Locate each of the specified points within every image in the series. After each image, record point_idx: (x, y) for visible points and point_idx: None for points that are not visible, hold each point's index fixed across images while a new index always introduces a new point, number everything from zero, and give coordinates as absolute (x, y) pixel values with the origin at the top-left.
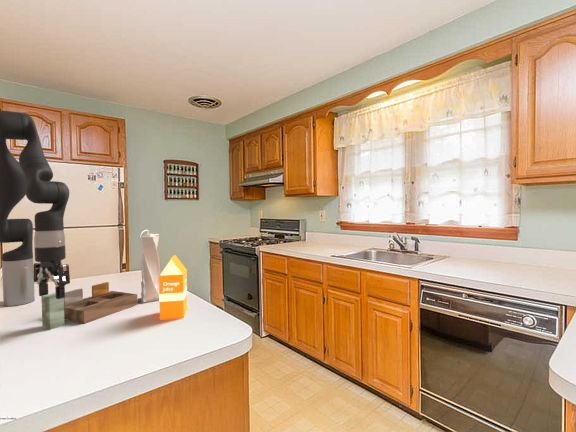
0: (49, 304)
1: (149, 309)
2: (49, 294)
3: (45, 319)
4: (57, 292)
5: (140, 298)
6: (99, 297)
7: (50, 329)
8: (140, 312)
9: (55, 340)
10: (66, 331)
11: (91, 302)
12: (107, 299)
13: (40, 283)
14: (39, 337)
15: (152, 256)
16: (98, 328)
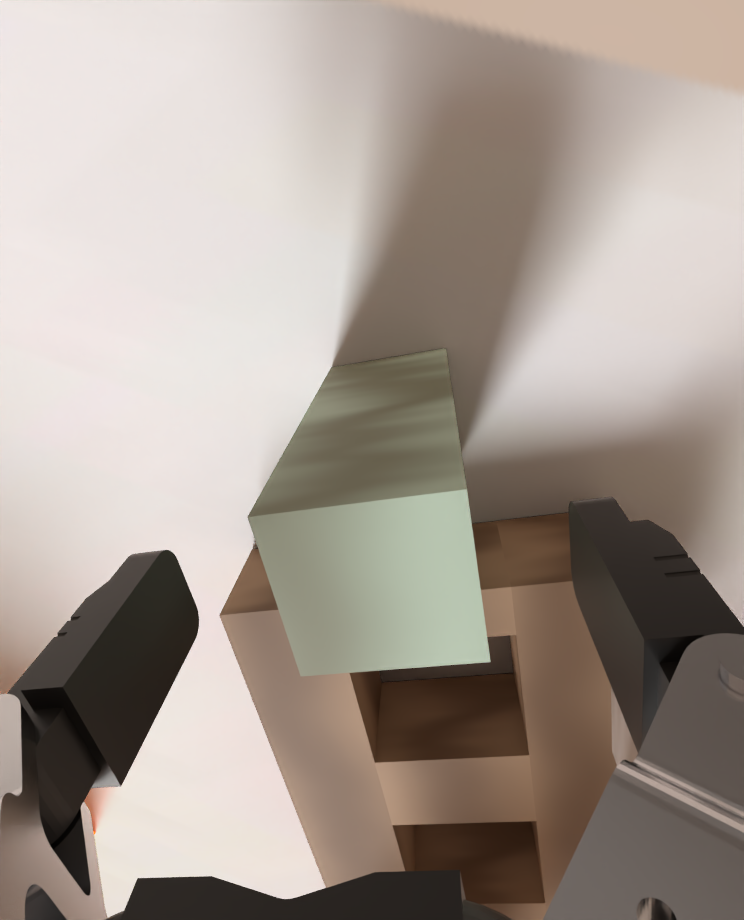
0: (279, 464)
1: (196, 820)
2: (441, 580)
3: (392, 381)
4: (84, 620)
5: None
6: (532, 820)
7: (331, 368)
8: (183, 780)
9: (33, 300)
10: (181, 419)
11: (484, 745)
12: (404, 815)
13: (684, 680)
14: (205, 248)
15: None
16: (72, 551)
